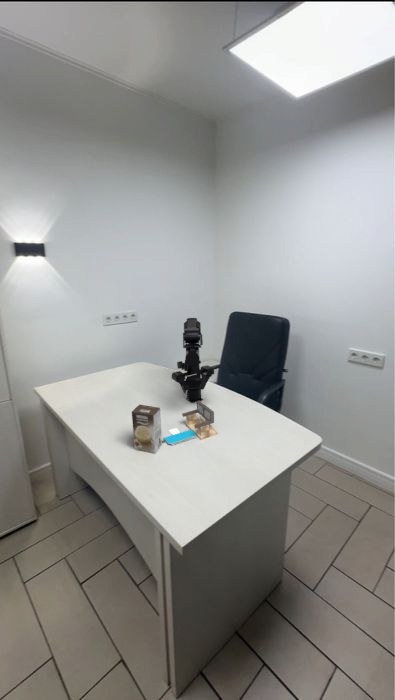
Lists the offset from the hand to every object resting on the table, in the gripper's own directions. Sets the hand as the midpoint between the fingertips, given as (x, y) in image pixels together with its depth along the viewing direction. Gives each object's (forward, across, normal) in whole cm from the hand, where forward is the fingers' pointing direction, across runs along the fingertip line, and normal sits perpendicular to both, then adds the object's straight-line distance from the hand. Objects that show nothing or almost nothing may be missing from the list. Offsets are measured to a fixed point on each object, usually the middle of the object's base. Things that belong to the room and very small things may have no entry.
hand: (193, 391), depth 139 cm
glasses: (+7, +5, +12) cm, 15 cm away
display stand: (+12, +4, +12) cm, 17 cm away
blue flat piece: (+13, +14, +12) cm, 22 cm away
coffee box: (+12, +27, +13) cm, 32 cm away
